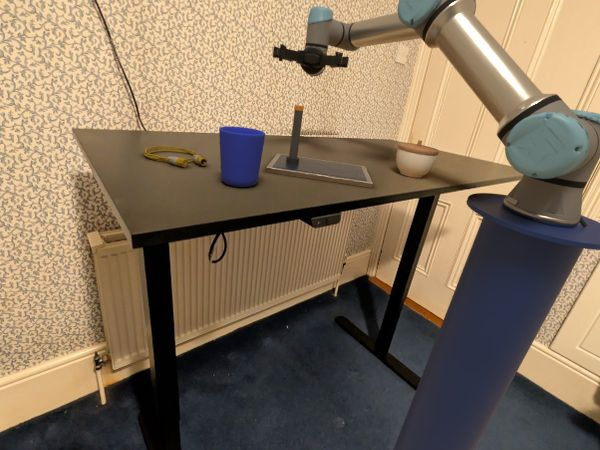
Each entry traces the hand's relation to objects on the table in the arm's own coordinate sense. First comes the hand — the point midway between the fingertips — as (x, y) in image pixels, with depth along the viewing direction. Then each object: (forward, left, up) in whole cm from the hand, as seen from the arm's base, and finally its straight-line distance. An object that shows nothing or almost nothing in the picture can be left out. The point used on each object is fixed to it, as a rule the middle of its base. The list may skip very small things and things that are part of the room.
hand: (308, 54), depth 79 cm
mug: (-20, +22, -26) cm, 39 cm away
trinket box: (-14, -29, -26) cm, 42 cm away
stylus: (-9, +5, -25) cm, 27 cm away
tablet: (-12, -1, -26) cm, 29 cm away
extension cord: (-4, +32, -26) cm, 41 cm away
